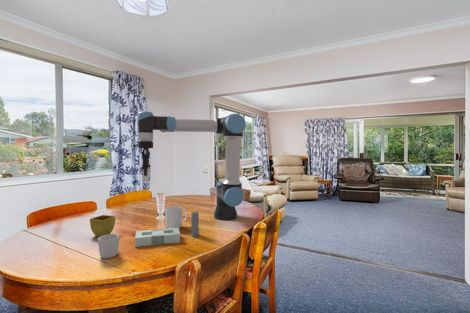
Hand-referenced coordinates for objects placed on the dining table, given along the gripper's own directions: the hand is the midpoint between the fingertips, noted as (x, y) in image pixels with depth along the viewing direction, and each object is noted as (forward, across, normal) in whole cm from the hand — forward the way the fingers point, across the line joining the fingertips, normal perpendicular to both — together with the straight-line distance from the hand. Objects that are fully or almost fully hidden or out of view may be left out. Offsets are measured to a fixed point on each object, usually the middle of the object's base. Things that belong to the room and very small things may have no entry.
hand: (146, 180), depth 136 cm
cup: (+27, +29, -13) cm, 42 cm away
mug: (+28, -1, +16) cm, 32 cm away
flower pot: (+27, +1, -21) cm, 35 cm away
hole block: (+27, +18, +6) cm, 33 cm away
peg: (+27, +16, +24) cm, 39 cm away
